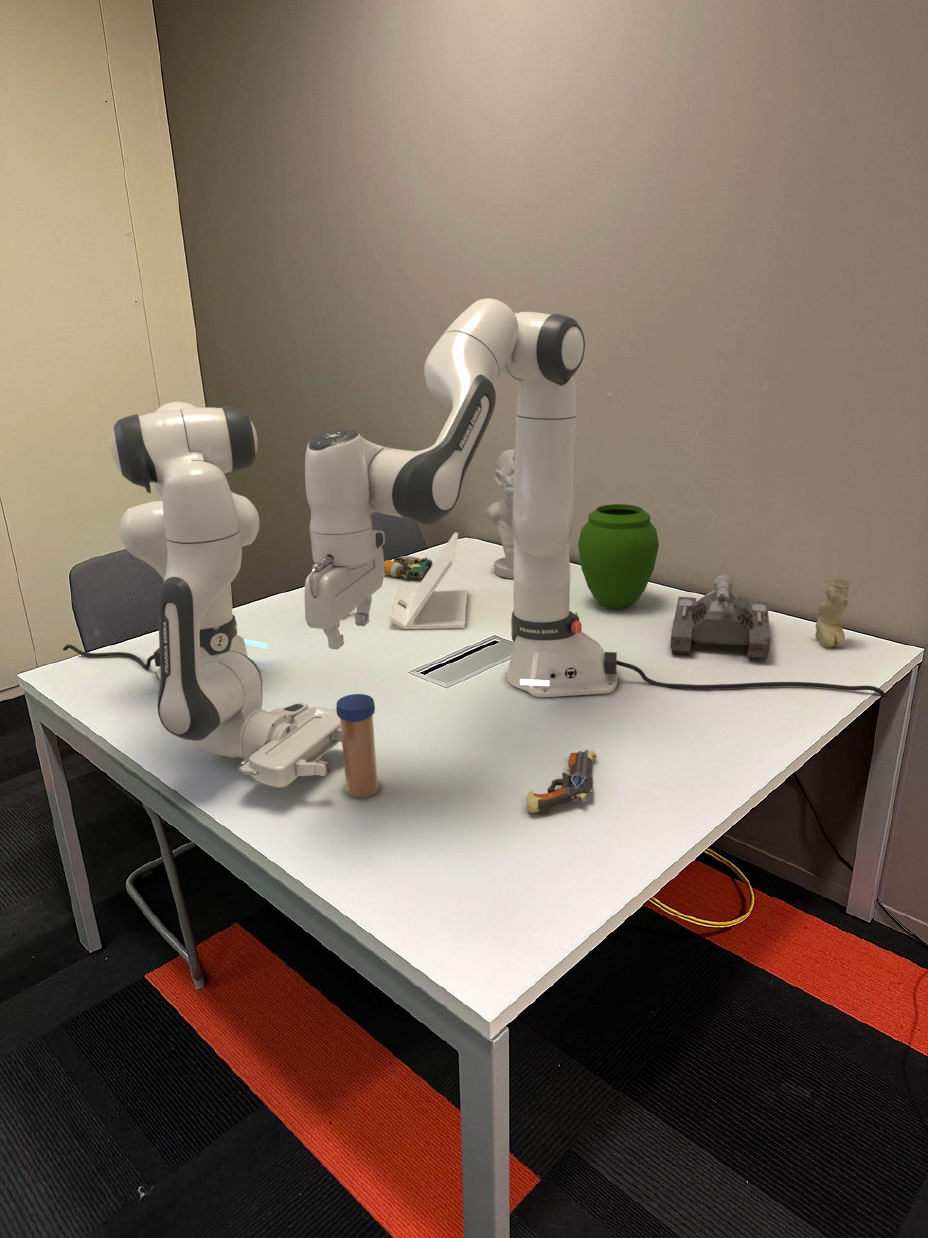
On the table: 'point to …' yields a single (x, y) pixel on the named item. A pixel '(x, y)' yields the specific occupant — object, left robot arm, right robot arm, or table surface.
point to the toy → (721, 621)
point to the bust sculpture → (504, 513)
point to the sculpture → (832, 613)
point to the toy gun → (566, 784)
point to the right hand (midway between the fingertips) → (349, 635)
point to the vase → (618, 554)
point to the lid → (355, 707)
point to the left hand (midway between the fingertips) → (343, 755)
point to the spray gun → (407, 566)
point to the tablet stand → (431, 599)
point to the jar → (359, 757)
